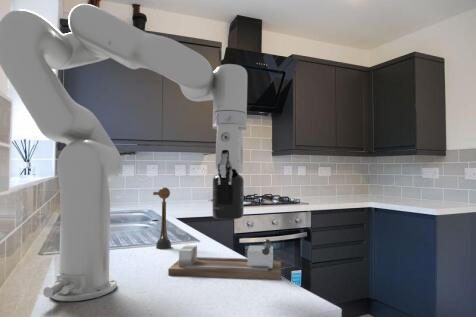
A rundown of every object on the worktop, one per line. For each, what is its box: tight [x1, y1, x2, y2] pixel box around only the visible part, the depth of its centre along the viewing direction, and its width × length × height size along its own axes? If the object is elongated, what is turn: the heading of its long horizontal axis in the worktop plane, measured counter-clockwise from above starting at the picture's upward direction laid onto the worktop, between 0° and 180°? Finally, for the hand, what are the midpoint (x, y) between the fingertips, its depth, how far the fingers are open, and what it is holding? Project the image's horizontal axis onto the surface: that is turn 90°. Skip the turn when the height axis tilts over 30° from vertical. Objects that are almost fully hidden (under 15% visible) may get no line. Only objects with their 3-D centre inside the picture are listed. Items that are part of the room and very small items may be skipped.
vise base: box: [167, 244, 282, 280], centre depth 81 cm, size 10×27×6 cm, turn 83°
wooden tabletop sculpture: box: [152, 186, 172, 250], centre depth 107 cm, size 6×5×20 cm
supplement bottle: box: [212, 164, 245, 220], centre depth 70 cm, size 7×7×12 cm
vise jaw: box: [246, 239, 274, 269], centre depth 80 cm, size 11×6×5 cm, turn 173°
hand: (227, 202), depth 70 cm, fingers closed on supplement bottle, 6 cm apart
